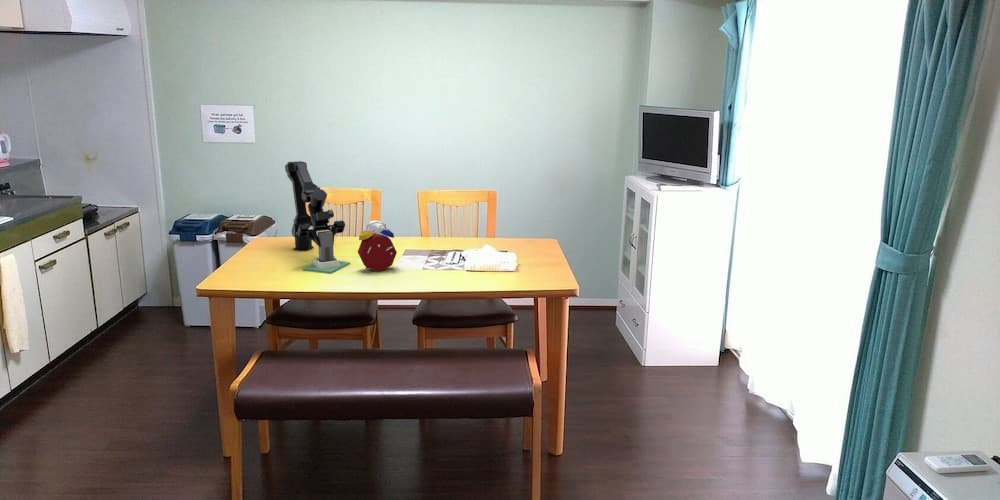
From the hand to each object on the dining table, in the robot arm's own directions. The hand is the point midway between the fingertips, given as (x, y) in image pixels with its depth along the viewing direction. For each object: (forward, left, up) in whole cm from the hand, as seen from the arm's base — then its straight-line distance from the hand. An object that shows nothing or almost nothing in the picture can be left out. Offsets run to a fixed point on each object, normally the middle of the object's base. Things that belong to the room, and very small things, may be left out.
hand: (326, 246), depth 294 cm
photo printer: (+3, +38, -10) cm, 39 cm away
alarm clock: (+21, +4, -9) cm, 23 cm away
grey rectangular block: (-1, +1, -7) cm, 7 cm away
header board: (-1, +1, -9) cm, 9 cm away
